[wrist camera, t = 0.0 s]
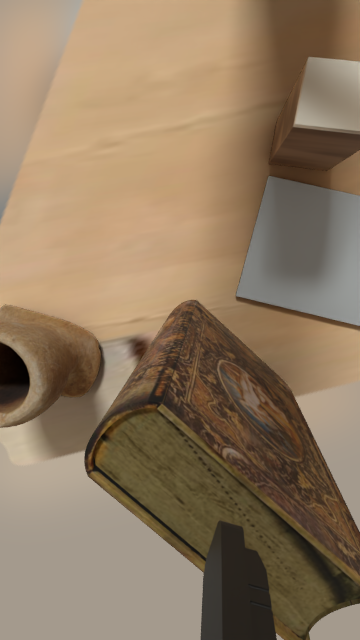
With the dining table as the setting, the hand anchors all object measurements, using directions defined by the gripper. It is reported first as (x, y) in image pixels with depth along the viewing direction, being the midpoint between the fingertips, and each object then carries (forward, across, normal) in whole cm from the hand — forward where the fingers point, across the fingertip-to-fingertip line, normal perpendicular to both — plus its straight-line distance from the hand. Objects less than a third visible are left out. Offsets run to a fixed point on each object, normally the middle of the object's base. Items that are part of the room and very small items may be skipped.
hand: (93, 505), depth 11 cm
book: (+30, -6, +4) cm, 30 cm away
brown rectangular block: (+29, -8, -20) cm, 36 cm away
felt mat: (+29, -13, -10) cm, 34 cm away
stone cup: (+30, +16, +8) cm, 35 cm away
